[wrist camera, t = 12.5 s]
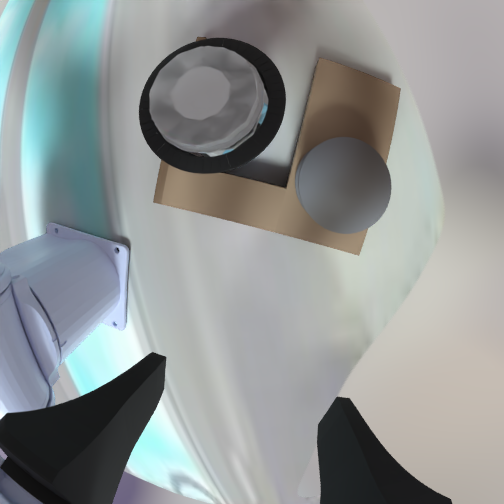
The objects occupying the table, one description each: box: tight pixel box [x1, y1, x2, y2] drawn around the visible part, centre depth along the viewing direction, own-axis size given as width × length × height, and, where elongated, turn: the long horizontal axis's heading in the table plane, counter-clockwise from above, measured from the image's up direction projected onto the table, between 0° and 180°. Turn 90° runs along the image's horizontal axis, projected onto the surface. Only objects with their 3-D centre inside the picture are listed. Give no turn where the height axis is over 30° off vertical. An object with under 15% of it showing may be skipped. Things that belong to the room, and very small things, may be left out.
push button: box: [139, 38, 286, 174], centre depth 12 cm, size 7×5×10 cm
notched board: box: [153, 37, 401, 255], centre depth 15 cm, size 14×12×4 cm
